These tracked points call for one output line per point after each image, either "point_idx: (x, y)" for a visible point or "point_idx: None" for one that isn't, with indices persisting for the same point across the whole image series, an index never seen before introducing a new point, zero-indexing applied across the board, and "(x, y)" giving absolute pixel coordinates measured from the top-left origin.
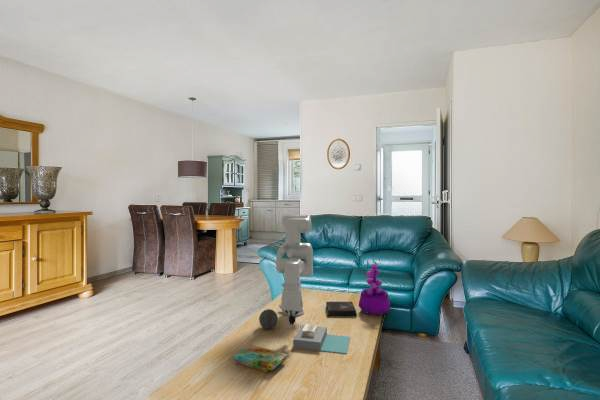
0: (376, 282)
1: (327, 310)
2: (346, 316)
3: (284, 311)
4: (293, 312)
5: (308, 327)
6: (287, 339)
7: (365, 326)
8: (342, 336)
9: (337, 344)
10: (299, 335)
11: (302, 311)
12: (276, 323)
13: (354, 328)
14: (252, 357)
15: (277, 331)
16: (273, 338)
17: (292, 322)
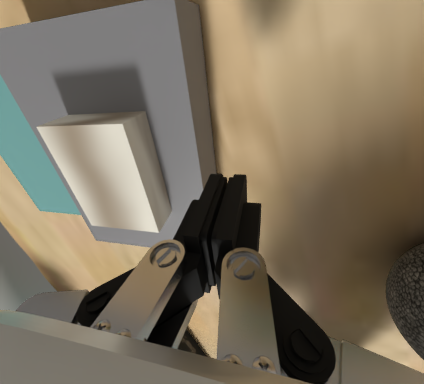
0: None
1: (191, 347)
2: None
3: (357, 352)
4: (146, 301)
5: (115, 190)
6: (279, 134)
7: (61, 273)
8: (59, 208)
9: (22, 135)
10: (163, 109)
11: (28, 311)
12: (389, 275)
13: (75, 263)
14: None
15: (366, 223)
16: (394, 124)
17: (209, 185)
